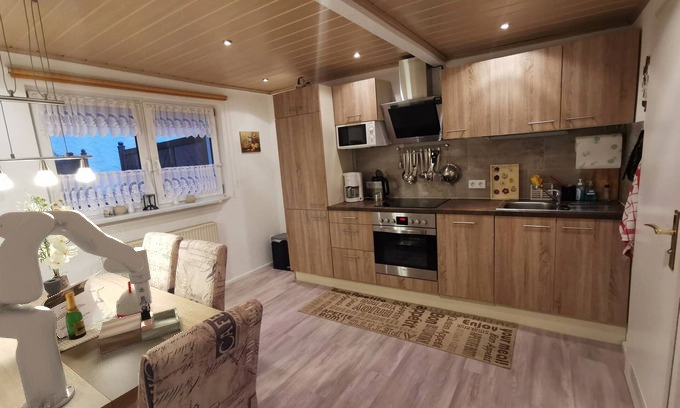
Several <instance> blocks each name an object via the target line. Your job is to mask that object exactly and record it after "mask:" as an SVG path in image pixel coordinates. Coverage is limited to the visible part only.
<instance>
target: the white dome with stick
mask: <svg viewBox="0 0 680 408" xmlns="http://www.w3.org/2000/svg"><path fill="white" fill-rule="evenodd" d="M127 287H128V288H127V289H125V291H123V292H122V293H121V295H120V296H119V299H117V300H116V306H115V307H116V308H115V309H116V311H115V312H116V317H117V316H118V317H117V318H119V317H125V316H129V315H133V314H137V313H141V307H140V306H139V305H138V302H137V298H136V293H135V287H132V284H131V283H130V280H129V281H127Z"/></svg>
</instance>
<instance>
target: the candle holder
mask: <svg viewBox="0 0 680 408" xmlns="http://www.w3.org/2000/svg"><path fill="white" fill-rule="evenodd" d="M43 287H44V290H45V292H46V293H47V294H48V295H46V297H47V299H49V297H51V296H53V295H55V294H57V293H59V292H60V291H61V290H62V289H63V288H62V287H63V283H62V279H61V278H60V277H59V278H58V277H57V278H51V279H48V280H45V281H43ZM57 340H60V338H59V337H58V336H57Z"/></svg>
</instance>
